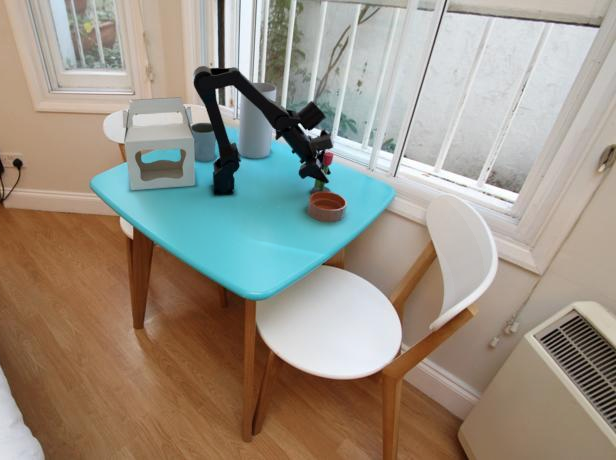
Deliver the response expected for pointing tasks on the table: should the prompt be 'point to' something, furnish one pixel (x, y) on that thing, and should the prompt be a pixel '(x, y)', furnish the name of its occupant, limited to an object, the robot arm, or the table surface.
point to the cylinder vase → (255, 125)
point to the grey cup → (203, 142)
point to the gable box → (159, 145)
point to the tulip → (326, 161)
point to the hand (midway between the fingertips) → (328, 178)
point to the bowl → (326, 206)
